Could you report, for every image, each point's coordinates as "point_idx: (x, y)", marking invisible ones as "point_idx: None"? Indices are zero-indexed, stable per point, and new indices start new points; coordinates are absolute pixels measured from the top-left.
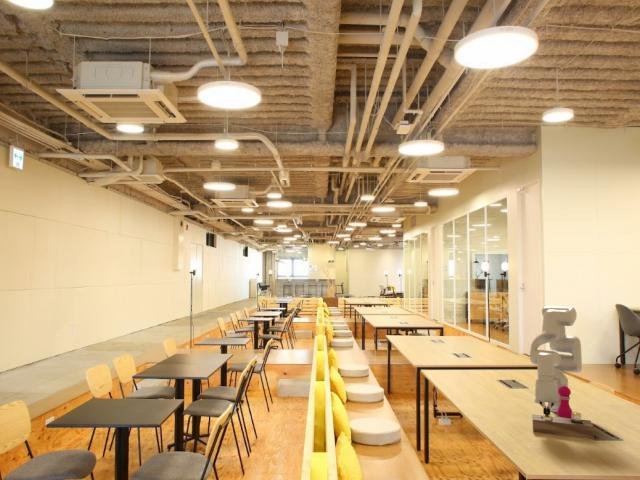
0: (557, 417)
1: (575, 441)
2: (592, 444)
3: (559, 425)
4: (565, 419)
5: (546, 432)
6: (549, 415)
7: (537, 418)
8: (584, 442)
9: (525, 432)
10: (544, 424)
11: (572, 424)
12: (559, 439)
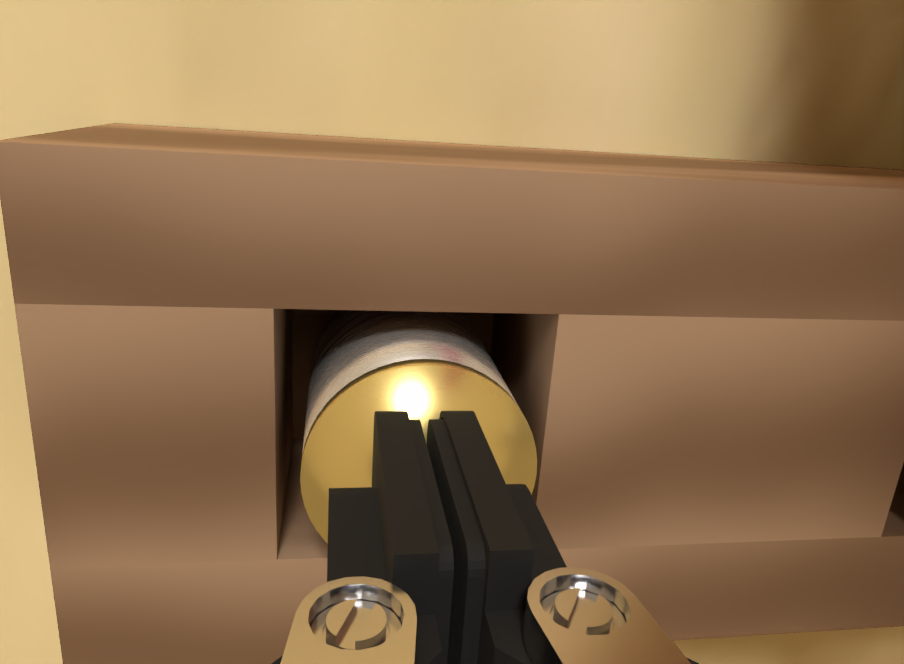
0: (698, 238)
1: (707, 643)
2: (873, 660)
3: None
4: (841, 343)
5: None
6: (497, 408)
7: (170, 533)
8: (806, 633)
9: (11, 563)
10: None
11: (857, 625)
12: None
